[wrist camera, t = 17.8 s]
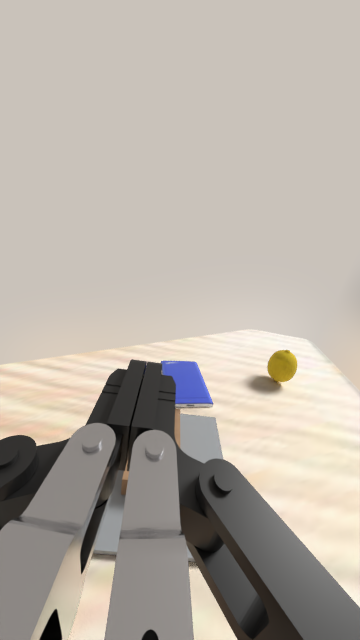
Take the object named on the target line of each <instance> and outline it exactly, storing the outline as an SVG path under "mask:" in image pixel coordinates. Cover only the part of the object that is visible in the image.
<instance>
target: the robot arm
mask: <svg viewBox="0 0 360 640" xmlns="http://www.w3.org/2000/svg"><path fill="white" fill-rule="evenodd" d="M146 364H147V366H146ZM161 371H162V364H161V363H154V362H146V361H139V360H132V359H131V361H130V364H129V366H128V369H127V370H124V369H117V370H116V371H114V372H113V373H112V374H111V375H110V376H109V378H108V380H107V382H106V385H105V386H104V388H103V390H102V393H101V395H100V397H99V399H98V401H97V403H96V405H95V407H94V409H93V411H92V413H91V415H90V417H89V419H88V421H87V423H86V425H85V426H83V427H81V428H80V429H78V430H77V431H76V432H75V433H74V434H73V435H72V437H71V438H69V439H67V440H64V441H61V442H56V443H51V444H45V445H40V446H36V443H35V441H34V440H33V439H32V438H30V437H28V436H24V435H16V436H11V437H7V438H4V439H2V440H0V640H68V638H69V635H70V632H71V629H72V626H73V623H74V619H75V616H76V613H77V609H78V606H79V602H80V598H81V594H82V589H83V584H84V580H85V576H86V573H87V570H88V567H89V564H90V560H91V557H92V554H93V551H94V548H95V545H96V542H97V539H98V536H99V533H100V530H101V527H102V524H103V521H104V518H105V515H106V511H107V508H108V505H109V502H110V499H111V496H112V491H113V488H114V485H115V481H116V477H117V474H118V470H122V471H125V468H126V464H127V460H128V464H127V471H129V476H128V483H127V490H126V497H125V504H124V511H123V518H122V525H121V531H120V536H119V543H118V549H117V556H116V563H115V570H114V577H113V584H112V591H111V598H110V605H109V612H108V618H107V625H106V632H105V639H104V640H194V636H193V622H192V608H191V594H190V580H189V566H188V554H187V547H188V549H189V551H190V553H191V555H192V557H193V558H194V560H195V562H196V564H197V566H198V568H199V569H200V571H201V573H202V575H203V577H204V579H205V580H206V582H207V584H208V586H209V588H210V590H211V592H212V593H213V595H214V597H215V599H216V601H217V603H218V604H219V606H220V608H221V610H222V612H223V614H224V615H225V617H226V619H227V621H228V623H229V625H230V626H231V628H232V630H233V632H234V634H235V636H236V637H237V639H238V640H360V608H359V607H358V605H357V604H356V603H355V602H354V601H353V600H352V599H351V597H350V596H349V595H348V594H347V593H346V592H345V591H344V590H343V588H342V587H341V586H340V585H339V584H338V583H337V582H336V580H335V579H334V578H333V577H332V576H331V575H330V574H329V572H328V571H327V570H326V569H325V568H324V567H323V566H322V565H321V563H320V562H319V561H318V560H317V559H316V558H315V557H314V555H313V554H312V553H311V552H310V551H309V550H308V549H307V548H306V546H305V545H304V544H303V543H302V542H301V541H300V540H299V538H298V537H297V536H296V535H295V534H294V533H293V532H292V531H291V529H290V528H289V527H288V526H287V525H286V524H285V523H284V521H283V520H282V519H281V518H280V517H279V516H278V515H277V514H276V512H275V511H274V510H273V509H272V508H271V507H270V506H269V504H268V503H267V502H266V501H265V500H264V499H263V498H262V497H261V495H260V494H259V493H258V492H257V491H256V490H255V489H254V487H253V486H252V485H251V484H250V483H249V482H248V481H247V479H246V478H245V477H244V476H243V475H242V474H241V473H240V472H239V470H238V469H237V468H236V467H235V466H234V465H232V464H231V463H229V462H228V461H226V460H223V459H217V458H215V459H211V460H208V461H207V462H205V463H202V462H200V461H198V460H196V459H194V458H192V457H190V456H188V455H187V454H185V453H184V452H183V451H182V450H181V449H180V447H179V446H178V444H177V442H176V440H175V401H176V383H175V381H174V379H173V377H172V376H169V375H161Z"/></svg>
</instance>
